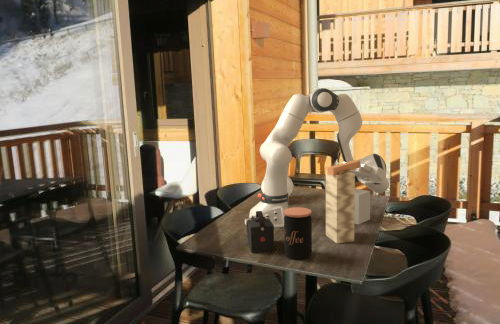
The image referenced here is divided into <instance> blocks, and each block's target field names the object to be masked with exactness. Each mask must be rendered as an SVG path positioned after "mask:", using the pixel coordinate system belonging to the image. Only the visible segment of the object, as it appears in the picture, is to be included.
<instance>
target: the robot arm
mask: <svg viewBox="0 0 500 324" xmlns="http://www.w3.org/2000/svg"><path fill="white" fill-rule="evenodd" d="M311 112H312V113H325V112H330V113H331V114H332V115H333V117H334V118H335V120H336V123H337V124H338V132H337V134H336V139H337V144H338V146H339V150H340V153H341V157H342V160H343V161H342V162H340V164H342V163H346V162H349V161H353V160H354V158H353V157H354V156H353V153H352V151H351V150H352V149H351V148H350V141H351V140H352V138H353V137H354V136H355V135H356V134H357V133H358V132H359V131H360V130H361V128H362V126H363V118H362V115H361V113H360V112H359V110H358V107H357V106H356V104H355V102H354V101H353V100H352V98H351V97H350V95H348V94H346V93H340V94H336V93H335V92H334V91H332V90H330V89H328V88H324V87H322V88H318V89H314V90H313V91H311V92H310V93H309V94H307V95H304V94H302V93H295V94H293V95H292V96H291V98H290V99H288V102H287V103H286V105H285V107H284V108H283V110H282V112H281V114H280V117H278V121H277V122H276V124H275V126H274V128H273V129H272V130H271V132H270V134H269V135H268V136H267V138H266V139H265V141H264V142H263V143H261V145H260V147H259V154H260V157H261V159H262V160H263V161H265V162H266V169H265V175H264V177H263V180H264V193H261V192H260V193H258V194H257V198H259V199H260V201H259V202H258V203H257V204H255V206H253V207H252V208H250V210H249V216H248V218H252V216H256V211H262V213H263V217H266V216H268V217H269V219H270V220H271V222H272V224H273V225H274V229H275V228H284V216H285V214H284V210H285V209H288V208H289V203H290V199H289V197H290V195H289V196H288V193H287V175H288V176H289V174H288V173H289V167H290V163H291V162H292V159H293V158H292V157H293V155H292V152H291V150H290V148H289V145H290V144H291V142H293V140H294V139H296V137H298V134H299V132H300V130H301V128H302V127H303V124H304V123H305V120H306V117H307V116H308V114H309V113H311ZM356 160H357V161H360V168H357V169H354V170H351V173H354V174H355V183H361V184H362V185H363V186H365V187H367V188H368V189H369V190H371V191H373V193H377V194H383V193H384V192H386V191H387V190H388V189H389V187H390V181H389V179H388V178H387V177H386V176H387V164H386V162H385V160H384V158H383V157H382V156H381V155H379V154H377V153H372V154H369V155H367V156H364V157H362V158H359V159H356ZM288 202H289V203H288ZM244 224H245V225H246V218H245V219H244Z"/></svg>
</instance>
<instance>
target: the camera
mask: <svg viewBox="0 0 500 324" xmlns="http://www.w3.org/2000/svg"><path fill="white" fill-rule="evenodd" d="M245 219H246V224H245V226H246V233H245V234H246V242H247V246H248V248H249V249H250V252H251V253H255V252H256V253H263V252H264V251H266V252H272V251H273V252H274V251H275V231H274V230H275V228H274V225H273V224H272V222H271V220H270V219H269V217H268V216H266V217H263V213H262V211H256V216H252V218H249V217H246V218H245Z"/></svg>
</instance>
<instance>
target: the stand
mask: <svg viewBox="0 0 500 324" xmlns="http://www.w3.org/2000/svg"><path fill="white" fill-rule="evenodd" d="M355 189H356V182H355V174H354V173H351V169H347V170H344V171H340V172H338V174H337V175H327V169H326V170H325V236H327V238H329V239H330V240H331V241H333V242H334V243H335V244H343V243H350V242H351V243H352V242H355V224H354V207H355Z"/></svg>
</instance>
